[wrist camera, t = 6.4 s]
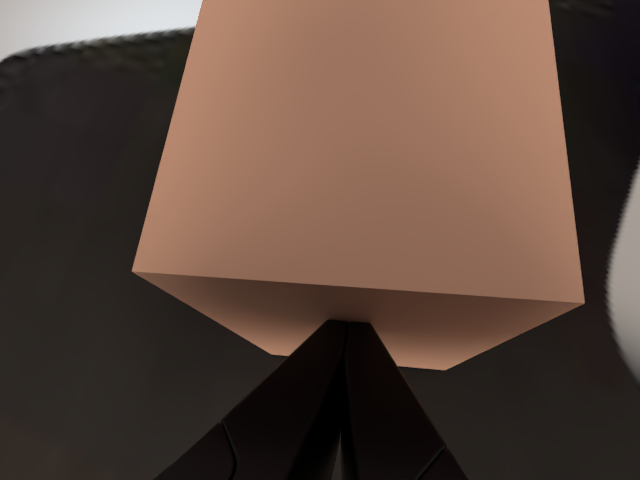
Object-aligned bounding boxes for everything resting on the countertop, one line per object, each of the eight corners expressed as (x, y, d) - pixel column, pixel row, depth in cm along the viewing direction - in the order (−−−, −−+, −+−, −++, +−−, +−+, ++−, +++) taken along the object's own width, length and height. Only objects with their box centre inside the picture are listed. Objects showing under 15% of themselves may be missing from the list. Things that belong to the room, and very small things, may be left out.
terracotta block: (444, 370, 15) (585, 303, 5) (271, 354, 15) (131, 271, 6) (444, 209, 17) (544, -38, 8) (292, 202, 18) (211, -31, 8)
